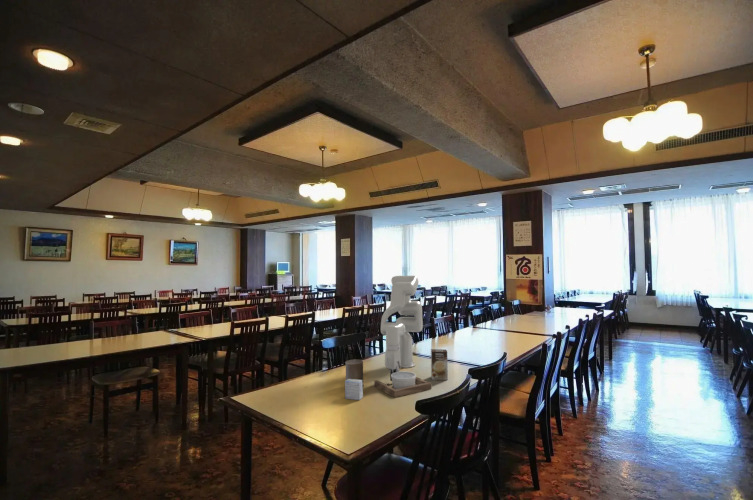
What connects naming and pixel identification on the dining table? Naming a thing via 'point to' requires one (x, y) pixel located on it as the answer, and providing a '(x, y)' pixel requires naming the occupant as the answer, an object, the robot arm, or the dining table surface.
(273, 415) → the dining table surface
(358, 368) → the pillar candle
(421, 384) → the display stand
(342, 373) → the dining table surface
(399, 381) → the ramekin
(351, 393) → the medicine box
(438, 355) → the coffee box
